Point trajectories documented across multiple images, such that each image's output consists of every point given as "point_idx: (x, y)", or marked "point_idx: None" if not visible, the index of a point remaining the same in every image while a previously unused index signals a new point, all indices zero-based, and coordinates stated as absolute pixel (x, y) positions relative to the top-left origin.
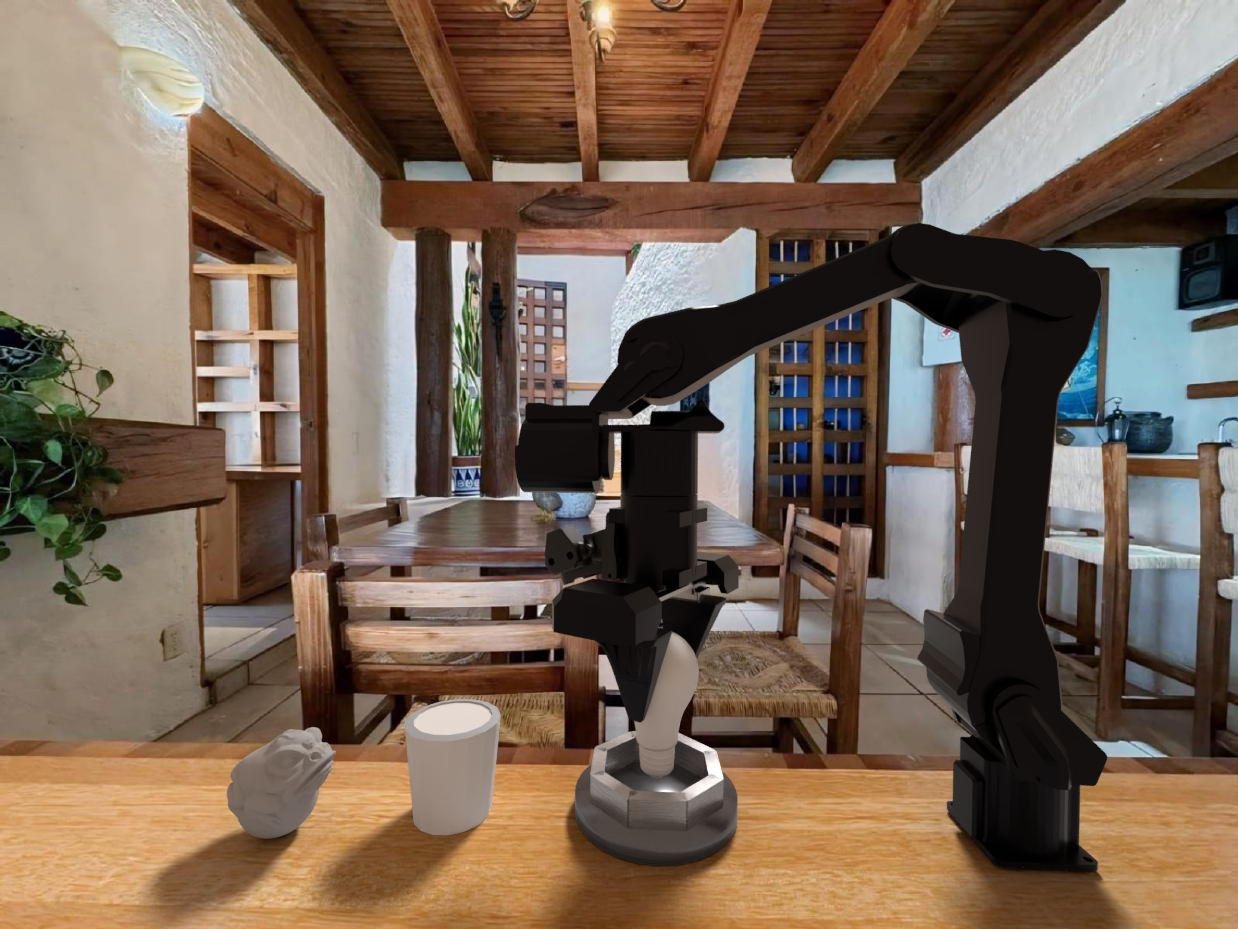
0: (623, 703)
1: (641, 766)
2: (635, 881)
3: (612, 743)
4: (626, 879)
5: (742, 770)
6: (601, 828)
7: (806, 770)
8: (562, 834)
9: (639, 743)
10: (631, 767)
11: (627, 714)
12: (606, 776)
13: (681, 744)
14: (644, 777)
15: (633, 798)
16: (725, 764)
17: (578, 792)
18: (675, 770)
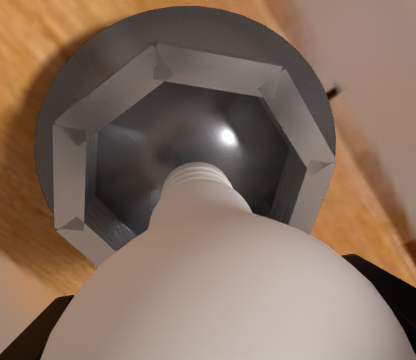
0: (18, 336)
1: (166, 180)
2: (45, 223)
3: (201, 69)
4: (38, 213)
5: (367, 202)
6: (37, 169)
7: (407, 263)
8: (22, 78)
9: (152, 212)
10: (225, 92)
11: (47, 308)
12: (78, 153)
13: (298, 186)
14: (209, 136)
15: (65, 233)
16: (374, 174)
17: (75, 63)
18: (266, 165)
